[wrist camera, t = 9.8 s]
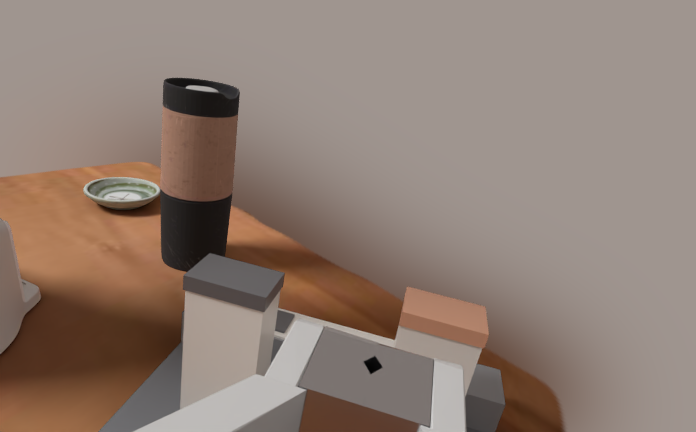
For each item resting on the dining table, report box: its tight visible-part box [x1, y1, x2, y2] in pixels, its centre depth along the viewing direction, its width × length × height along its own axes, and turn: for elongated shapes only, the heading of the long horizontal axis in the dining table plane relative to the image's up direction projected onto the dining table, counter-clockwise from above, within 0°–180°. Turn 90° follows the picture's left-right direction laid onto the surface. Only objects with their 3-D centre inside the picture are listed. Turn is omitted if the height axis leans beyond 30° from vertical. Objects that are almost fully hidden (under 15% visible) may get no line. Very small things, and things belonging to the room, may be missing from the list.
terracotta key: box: [393, 287, 489, 396], centre depth 31 cm, size 3×5×11 cm, turn 78°
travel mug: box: [160, 78, 240, 271], centre depth 51 cm, size 8×8×20 cm
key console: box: [99, 308, 505, 432], centre depth 33 cm, size 26×16×5 cm, turn 78°
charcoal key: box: [180, 253, 285, 409], centre depth 30 cm, size 3×5×11 cm, turn 78°
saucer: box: [83, 177, 160, 210], centre depth 64 cm, size 10×10×2 cm
